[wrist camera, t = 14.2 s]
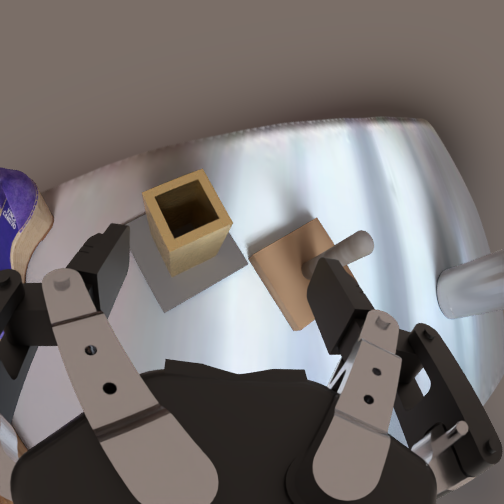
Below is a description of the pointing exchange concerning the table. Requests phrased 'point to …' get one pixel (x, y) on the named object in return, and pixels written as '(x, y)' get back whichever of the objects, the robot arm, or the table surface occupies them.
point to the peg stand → (303, 266)
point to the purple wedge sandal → (20, 220)
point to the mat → (187, 282)
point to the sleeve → (186, 220)
